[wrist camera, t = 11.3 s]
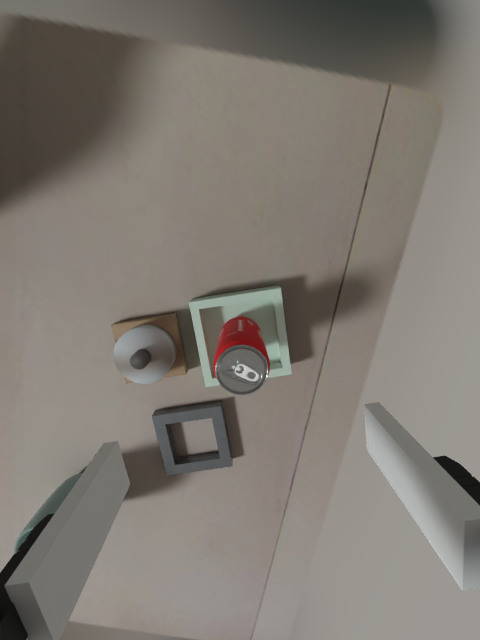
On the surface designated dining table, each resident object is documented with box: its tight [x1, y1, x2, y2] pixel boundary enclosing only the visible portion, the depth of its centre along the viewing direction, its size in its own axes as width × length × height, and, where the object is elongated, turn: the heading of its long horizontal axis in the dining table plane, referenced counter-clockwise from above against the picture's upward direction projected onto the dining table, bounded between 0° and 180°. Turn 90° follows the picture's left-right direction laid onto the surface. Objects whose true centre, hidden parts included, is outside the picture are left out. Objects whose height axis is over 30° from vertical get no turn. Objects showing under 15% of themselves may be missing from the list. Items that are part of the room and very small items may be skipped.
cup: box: [14, 473, 83, 554], centre depth 38 cm, size 8×8×10 cm
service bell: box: [111, 313, 188, 384], centre depth 35 cm, size 8×8×6 cm
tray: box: [189, 286, 292, 387], centre depth 36 cm, size 11×11×3 cm
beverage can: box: [213, 317, 270, 395], centre depth 31 cm, size 5×5×12 cm
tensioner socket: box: [152, 401, 232, 475], centre depth 40 cm, size 10×10×2 cm
